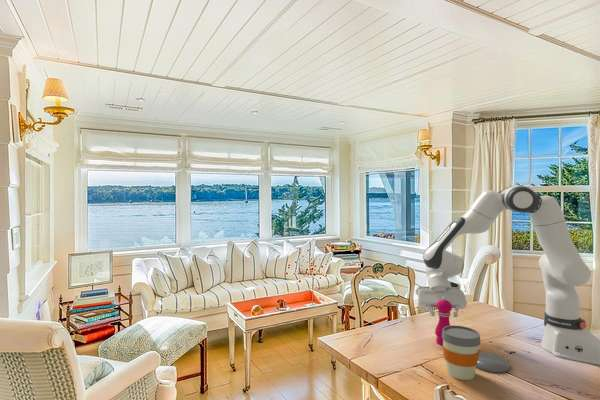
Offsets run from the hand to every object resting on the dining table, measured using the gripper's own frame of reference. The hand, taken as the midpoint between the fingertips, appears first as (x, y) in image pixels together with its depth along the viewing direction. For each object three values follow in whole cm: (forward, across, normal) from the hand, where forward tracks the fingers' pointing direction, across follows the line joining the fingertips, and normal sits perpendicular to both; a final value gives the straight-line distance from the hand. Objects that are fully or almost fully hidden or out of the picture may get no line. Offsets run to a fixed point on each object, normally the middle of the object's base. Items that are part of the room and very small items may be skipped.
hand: (444, 316), depth 151 cm
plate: (+20, +12, -3) cm, 23 cm away
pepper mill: (+8, 0, +9) cm, 12 cm away
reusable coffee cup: (+26, -1, -10) cm, 28 cm away
